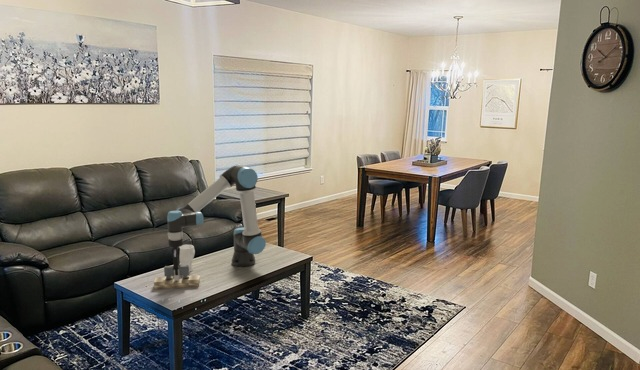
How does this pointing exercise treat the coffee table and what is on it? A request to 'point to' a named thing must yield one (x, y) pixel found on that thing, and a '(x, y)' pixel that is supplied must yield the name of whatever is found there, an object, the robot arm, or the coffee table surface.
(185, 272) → the grey block
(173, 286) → the rail
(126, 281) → the coffee table surface
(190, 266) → the cup
